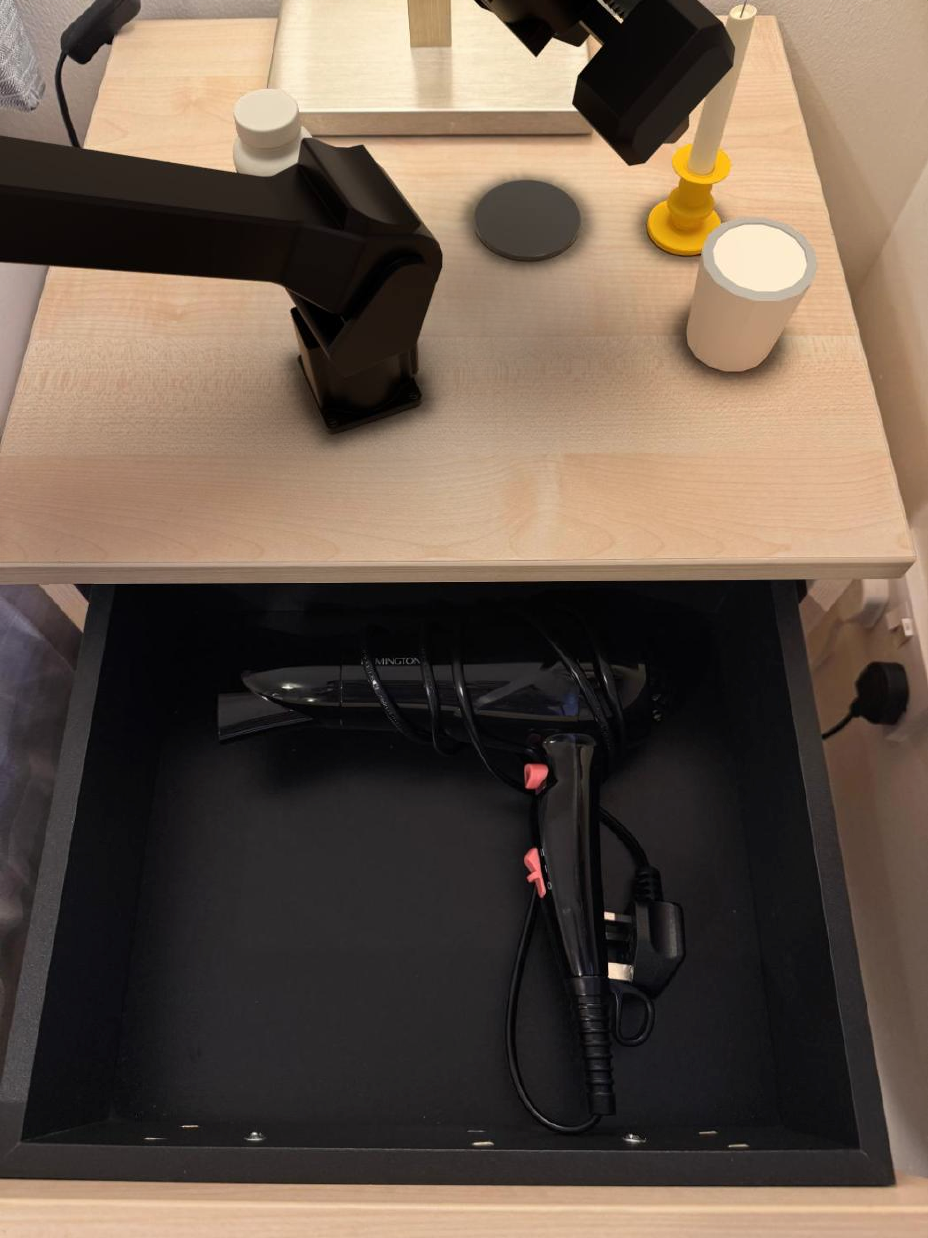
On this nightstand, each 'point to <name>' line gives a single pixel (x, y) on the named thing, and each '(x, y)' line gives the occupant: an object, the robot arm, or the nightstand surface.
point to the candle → (702, 158)
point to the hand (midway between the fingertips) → (630, 84)
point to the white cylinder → (747, 291)
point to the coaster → (527, 220)
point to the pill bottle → (267, 132)
